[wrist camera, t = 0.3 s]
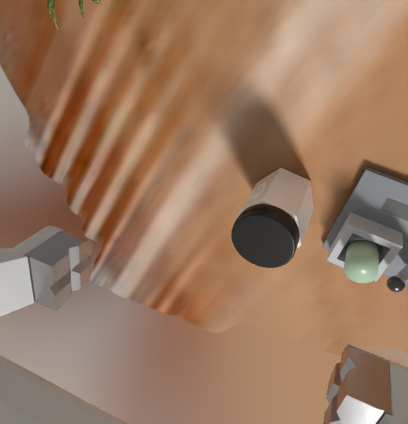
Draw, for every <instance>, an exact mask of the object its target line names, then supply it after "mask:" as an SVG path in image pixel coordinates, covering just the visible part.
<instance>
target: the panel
mask: <svg viewBox="0 0 408 424" xmlns="http://www.w3.org/2000/svg"><path fill="white" fill-rule="evenodd" d="M356 240H367V241H370V242H372V243H374V244H375V245H376V246H377V247H378V249H379V264H378V275H377V277H376V278H375V279H374V280H373V281H375V282H376V281H377V280H378V279H379V277H380V276H381V275H382V273H383V274H385V275H387V276H390V277H392V276H396V275H397V274H398V273H399V272H400V271H401V270H402V269H403V268H404V267H405V266H406V265H407V264H408V182H407V181H404V180H401V179H399V178H396V177H393V176H391V175H388V174H385V173H382V172H380V171H377V170H374V169H372V168H369V167H366V168H365V170H364V172H363V173H362V175H361V177H360V179H359V181H358V182H357V184H356V186H355V188H354V189H353V191H352V193H351V195H350V197H349V198H348V200H347V202H346V204H345V205H344V207H343V209H342V211H341V213H340V214H339V216H338V218H337V220H336V221H335V223H334V225H333V227H332V229H331V230H330V232H329V234H328V236H327V238H326V239H325V241H324V243H323V246H322V248H325V249H327V250H329V254H328V258H327V261H329V262H331V263H334V264H336V265H338V266H341V267H343V268H344V263H345V257H346V252H347V247H348V245H349V244H350V243H351V242H353V241H356ZM406 284H408V281H407V282H406Z"/></svg>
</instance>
